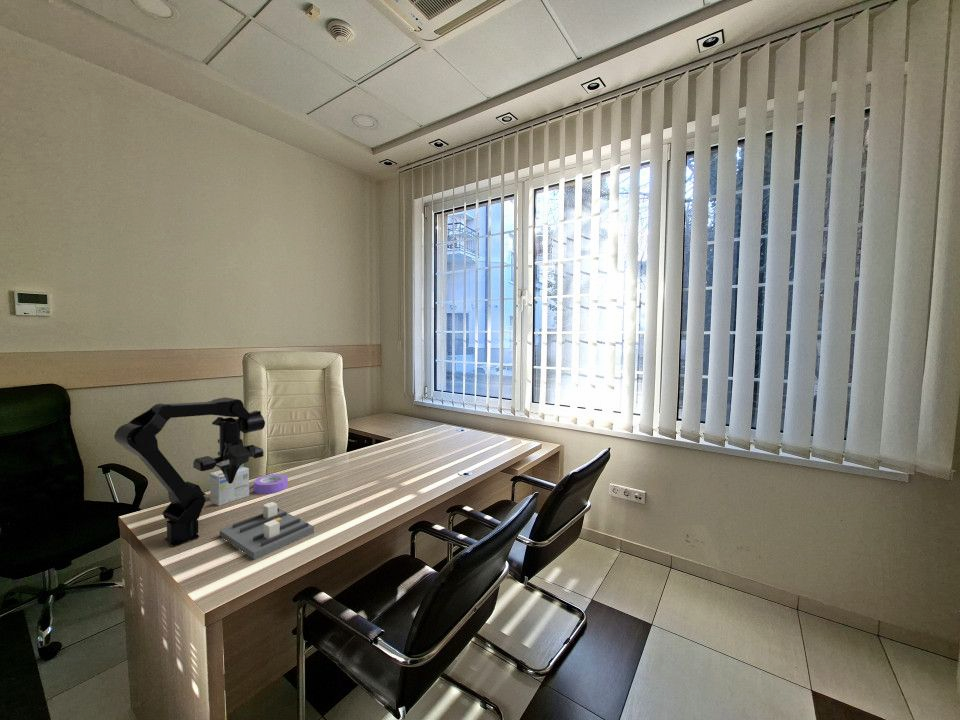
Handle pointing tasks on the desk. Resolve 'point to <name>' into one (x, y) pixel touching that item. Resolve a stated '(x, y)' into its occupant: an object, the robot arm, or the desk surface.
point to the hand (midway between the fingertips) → (230, 483)
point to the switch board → (252, 533)
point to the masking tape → (270, 484)
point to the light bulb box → (229, 486)
